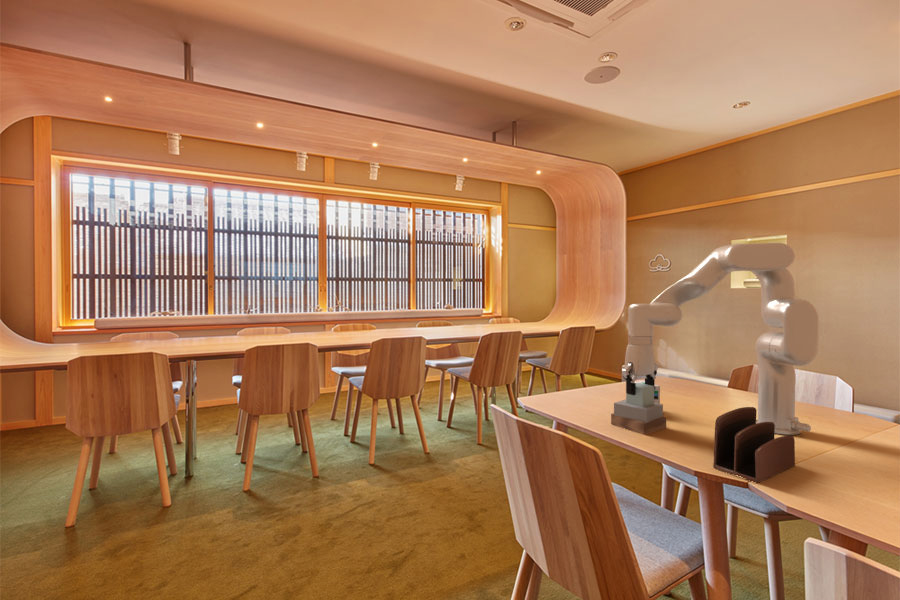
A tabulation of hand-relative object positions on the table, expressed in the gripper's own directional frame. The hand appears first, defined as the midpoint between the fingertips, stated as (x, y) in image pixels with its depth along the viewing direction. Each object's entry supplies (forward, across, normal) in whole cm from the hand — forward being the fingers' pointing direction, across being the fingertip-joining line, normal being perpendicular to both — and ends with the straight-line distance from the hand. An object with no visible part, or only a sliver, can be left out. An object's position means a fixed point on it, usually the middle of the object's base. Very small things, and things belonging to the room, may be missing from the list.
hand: (640, 392), depth 139 cm
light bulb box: (+12, -17, -10) cm, 23 cm away
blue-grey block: (+4, 0, 0) cm, 4 cm away
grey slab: (+8, +1, 0) cm, 8 cm away
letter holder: (+12, +4, +35) cm, 37 cm away
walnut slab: (+12, +1, 0) cm, 12 cm away
